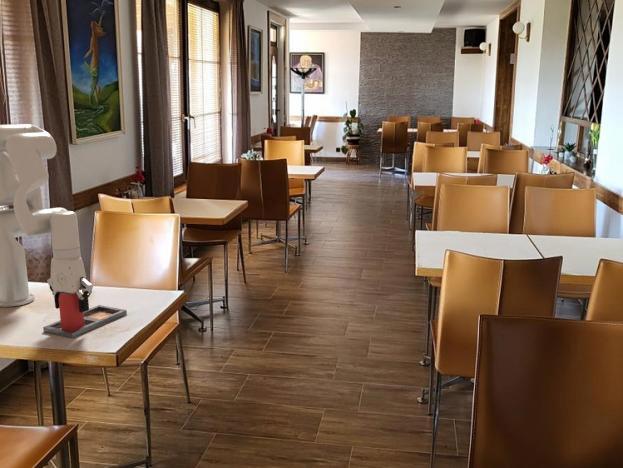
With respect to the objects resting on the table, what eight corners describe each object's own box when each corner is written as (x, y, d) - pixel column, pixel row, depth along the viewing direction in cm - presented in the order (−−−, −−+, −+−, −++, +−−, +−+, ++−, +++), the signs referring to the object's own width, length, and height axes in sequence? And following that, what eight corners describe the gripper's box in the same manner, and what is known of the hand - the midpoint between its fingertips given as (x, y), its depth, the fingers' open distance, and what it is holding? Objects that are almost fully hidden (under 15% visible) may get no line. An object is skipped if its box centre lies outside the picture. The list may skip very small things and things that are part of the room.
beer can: (76, 333, 186) (73, 294, 183) (56, 331, 187) (53, 293, 185) (89, 325, 192) (85, 287, 190) (69, 324, 194) (66, 286, 191)
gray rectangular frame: (43, 332, 187) (43, 327, 187) (99, 309, 207) (99, 305, 207) (72, 338, 182) (72, 333, 182) (126, 314, 202) (126, 310, 202)
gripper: (35, 253, 185) (41, 309, 189) (78, 258, 178) (84, 316, 181) (55, 248, 192) (61, 302, 195) (98, 253, 184) (103, 309, 188)
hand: (72, 309), depth 188 cm, fingers open, 9 cm apart
